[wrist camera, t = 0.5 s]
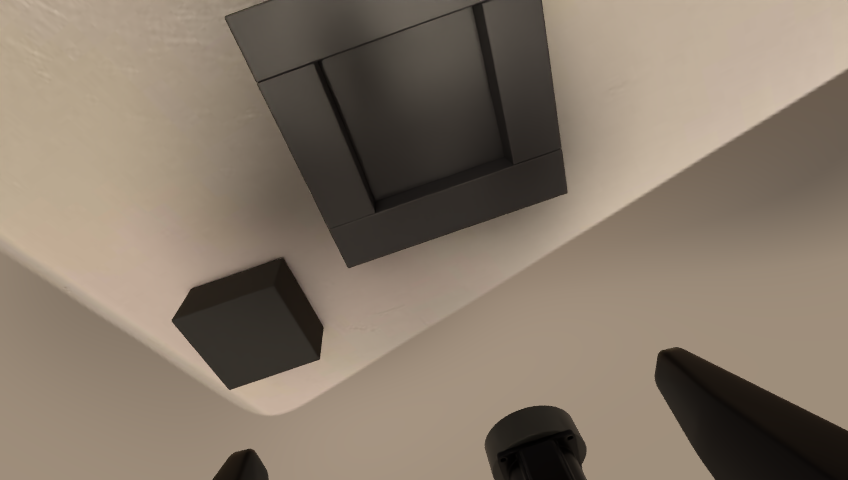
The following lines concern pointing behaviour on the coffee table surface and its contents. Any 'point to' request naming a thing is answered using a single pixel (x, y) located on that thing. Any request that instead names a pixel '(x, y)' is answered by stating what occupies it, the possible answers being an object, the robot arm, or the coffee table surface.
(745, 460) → the robot arm
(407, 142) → the base pad
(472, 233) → the coffee table surface
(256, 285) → the black angular block
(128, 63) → the coffee table surface
